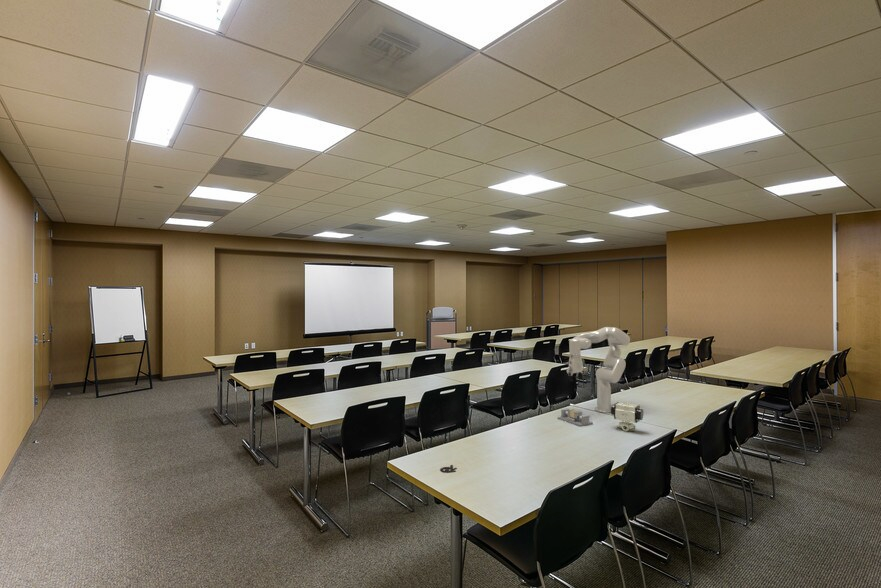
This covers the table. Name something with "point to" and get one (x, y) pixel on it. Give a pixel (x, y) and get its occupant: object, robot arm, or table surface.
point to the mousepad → (448, 469)
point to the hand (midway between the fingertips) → (575, 380)
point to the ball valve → (627, 414)
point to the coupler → (575, 415)
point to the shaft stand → (565, 417)
